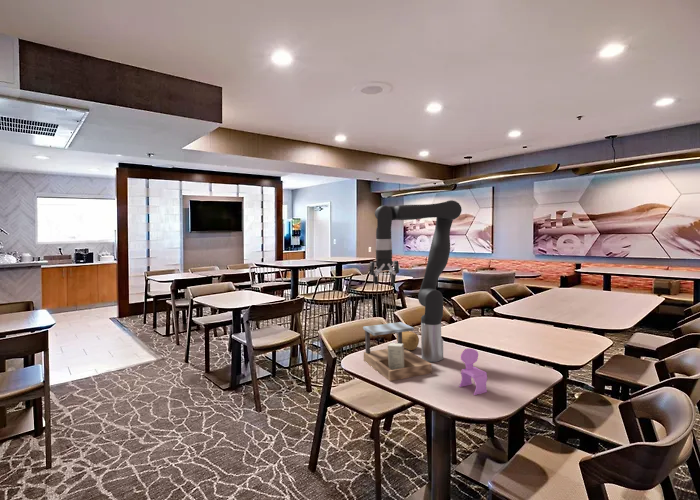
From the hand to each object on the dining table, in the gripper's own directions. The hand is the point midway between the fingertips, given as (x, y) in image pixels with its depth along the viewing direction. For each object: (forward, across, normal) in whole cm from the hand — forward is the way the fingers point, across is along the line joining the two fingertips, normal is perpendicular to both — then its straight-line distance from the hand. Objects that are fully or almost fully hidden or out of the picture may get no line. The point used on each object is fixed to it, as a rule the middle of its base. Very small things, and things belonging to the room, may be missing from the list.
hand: (384, 283), depth 173 cm
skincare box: (+36, +3, +16) cm, 40 cm away
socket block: (+36, 0, +10) cm, 37 cm away
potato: (+36, -18, -10) cm, 42 cm away
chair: (+36, -15, +43) cm, 58 cm away
